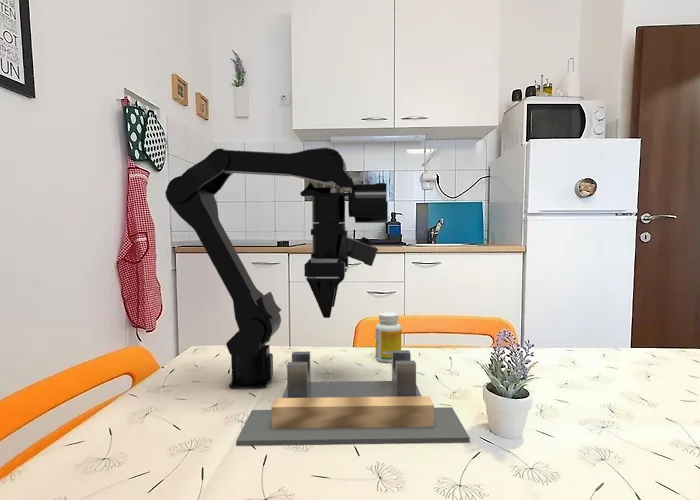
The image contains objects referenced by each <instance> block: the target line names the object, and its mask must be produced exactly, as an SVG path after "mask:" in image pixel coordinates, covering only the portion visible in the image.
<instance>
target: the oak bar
mask: <svg viewBox="0 0 700 500" xmlns="http://www.w3.org/2000/svg"><path fill="white" fill-rule="evenodd" d="M434 408H435V405H434V402H433V400H432V398H431V396H429V395H428V396H427V395H425V396H424V395H423V396H422V395H421V396H408V397H328V398H282V397H275V398H274V400H273V403H272V406H271V410H272V429H303V428H379V427H434Z"/></svg>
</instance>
